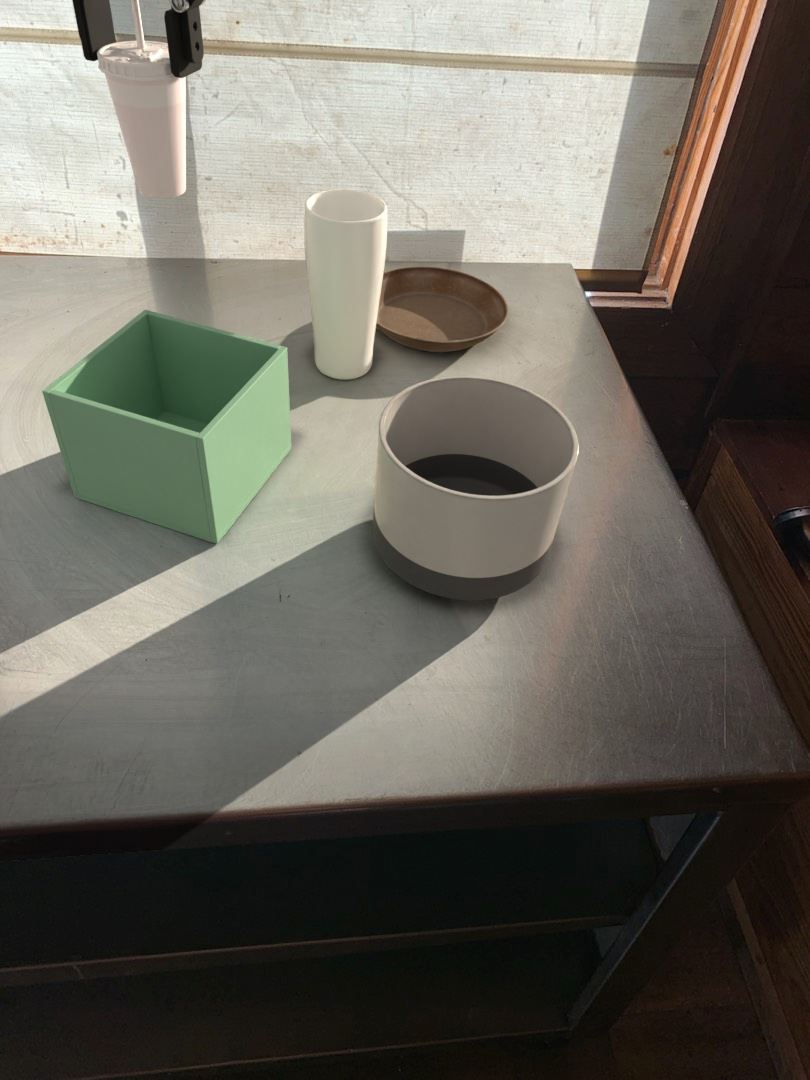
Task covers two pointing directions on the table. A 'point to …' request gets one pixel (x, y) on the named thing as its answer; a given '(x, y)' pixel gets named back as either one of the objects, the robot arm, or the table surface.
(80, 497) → the bin
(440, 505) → the planter
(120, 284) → the table surface
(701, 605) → the table surface
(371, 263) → the white cup
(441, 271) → the saucer
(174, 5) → the robot arm
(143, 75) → the smoothie
